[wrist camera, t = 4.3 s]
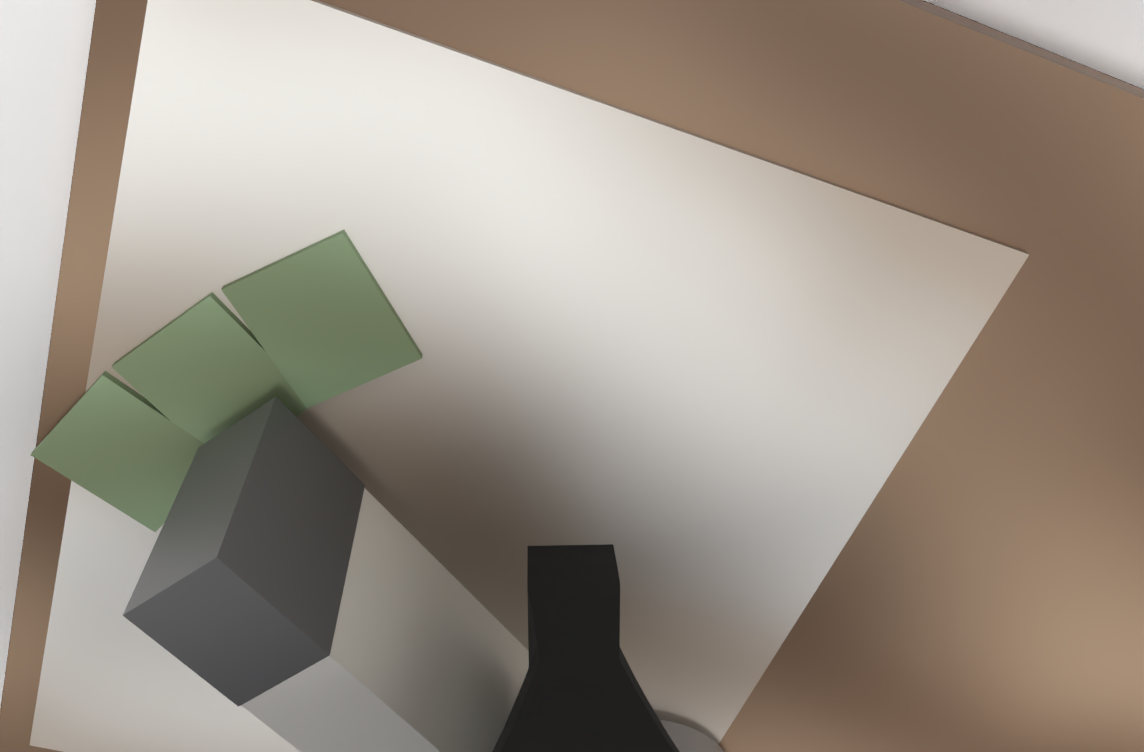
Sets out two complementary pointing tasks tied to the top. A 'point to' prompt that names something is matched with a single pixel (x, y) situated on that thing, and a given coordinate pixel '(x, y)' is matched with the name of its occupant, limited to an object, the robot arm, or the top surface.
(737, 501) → the brown tray
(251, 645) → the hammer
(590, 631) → the robot arm
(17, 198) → the top surface
